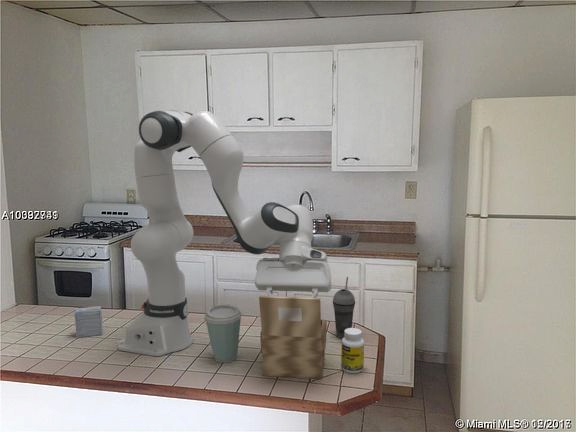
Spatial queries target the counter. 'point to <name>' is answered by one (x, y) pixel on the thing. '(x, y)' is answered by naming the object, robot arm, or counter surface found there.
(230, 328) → the disposable coffee cup
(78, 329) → the grey upright block
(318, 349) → the cardboard carton
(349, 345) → the pill bottle
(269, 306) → the lid flap
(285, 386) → the counter surface
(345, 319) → the beverage cup
